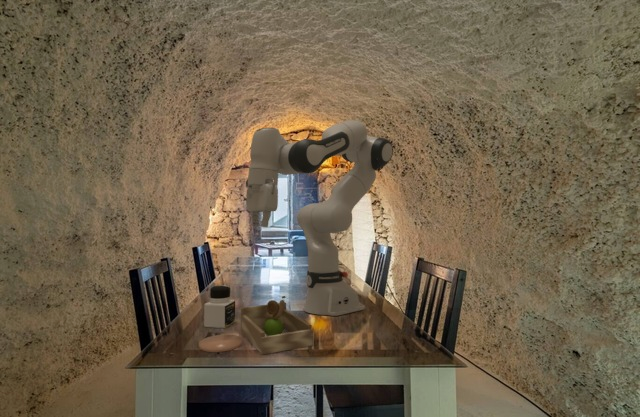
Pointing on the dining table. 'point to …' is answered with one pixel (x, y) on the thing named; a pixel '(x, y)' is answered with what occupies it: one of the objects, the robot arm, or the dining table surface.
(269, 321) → the snail figurine
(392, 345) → the dining table surface
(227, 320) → the medicine bottle
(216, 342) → the tan disc
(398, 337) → the dining table surface
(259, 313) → the cold frame
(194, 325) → the dining table surface
